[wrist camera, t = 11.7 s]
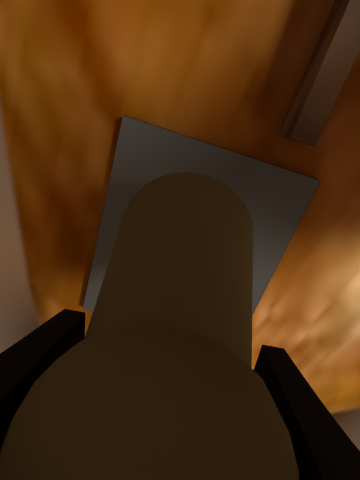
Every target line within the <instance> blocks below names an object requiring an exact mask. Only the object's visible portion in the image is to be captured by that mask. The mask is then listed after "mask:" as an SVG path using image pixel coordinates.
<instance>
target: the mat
mask: <svg viewBox="0 0 360 480" xmlns="http://www.w3.org/2000/svg"><path fill="white" fill-rule="evenodd" d="M182 172H192V173H197V174H202V175H207V176H212V177H213V178H215V179H217V180H219V181H220V182H222V183H224V184H226V185H227V186H229V187H231V188H232V189H233V190H234V191H235V193H236V194H237V195H238V196H239V197H240V198H241V199H242V200H243V202H244V203H245V204H246V206H247V209H248V211H249V214H250V216H251V219H252V221H253V295H252V315H253V313H254V311H255V309H256V307H257V305H258V303H259V301H260V299H261V297H262V295H263V293H264V291H265V289H266V287H267V285H268V283H269V281H270V279H271V277H272V275H273V273H274V271H275V269H276V267H277V265H278V263H279V262H280V260H281V258H282V256H283V254H284V252H285V250H286V248H287V246H288V244H289V242H290V240H291V238H292V236H293V234H294V232H295V230H296V228H297V226H298V224H299V222H300V220H301V218H302V216H303V214H304V212H305V210H306V208H307V206H308V204H309V202H310V200H311V198H312V196H313V194H314V192H315V190H316V188H317V186H318V184H319V182H320V181H319V180H317V179H315V178H312V177H309V176H306V175H303V174H300V173H297V172H294V171H291V170H288V169H285V168H282V167H279V166H276V165H273V164H270V163H267V162H264V161H261V160H258V159H254V158H251V157H248V156H245V155H242V154H239V153H236V152H233V151H230V150H227V149H224V148H221V147H218V146H215V145H212V144H209V143H206V142H203V141H200V140H197V139H194V138H191V137H188V136H185V135H182V134H179V133H176V132H173V131H170V130H167V129H164V128H161V127H158V126H155V125H152V124H149V123H146V122H143V121H140V120H137V119H134V118H131V117H128V116H123V117H122V122H121V127H120V132H119V137H118V141H117V146H116V151H115V156H114V161H113V166H112V170H111V175H110V180H109V185H108V190H107V194H106V199H105V204H104V209H103V214H102V219H101V223H100V228H99V233H98V238H97V243H96V248H95V252H94V257H93V262H92V267H91V272H90V276H89V281H88V286H87V291H86V296H85V301H84V305H83V309H85V310H88V311H91V312H93V311H94V308H95V304H96V301H97V298H98V295H99V292H100V288H101V285H102V282H103V279H104V275H105V272H106V269H107V266H108V263H109V259H110V256H111V253H112V250H113V247H114V243H115V240H116V237H117V234H118V231H119V227H120V224H121V221H122V218H123V215H124V212H125V210H126V208H127V206H128V204H129V202H130V200H131V198H132V197H133V196H134V195H135V194H136V193H137V192H138V191H139V190H140V189H141V188H142V187H143V186H144V185H145V184H146V183H148V182H150V181H153V180H155V179H157V178H159V177H161V176H164V175H166V174H173V173H182Z"/></svg>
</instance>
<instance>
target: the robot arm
mask: <svg viewBox="0 0 360 480" xmlns="http://www.w3.org/2000/svg"><path fill="white" fill-rule="evenodd" d="M84 339H85V313H84V312H79V311H73V310H68V309H64V310H62V311H61V312H60V313H58V314H57V315H55V316H54V317H52V318H51V319H49V320H48V321H47V322H45V323H44V324H42V325H41V326H40V327H38V328H37V329H35V330H34V331H33V332H31V333H30V334H28V335H27V336H26V337H24V338H23V339H21V340H20V341H18V342H17V343H15V344H14V345H12V346H11V347H10V348H8V349H7V350H5V351H4V352H2V353H1V354H0V449H1V446H2V443H3V440H4V437H5V435H6V433H7V430H8V428H9V426H10V424H11V422H12V420H13V417H14V415H15V413H16V412H17V410H18V408H19V407H20V405H21V404H22V402H23V400H24V399H25V397H26V395H27V394H28V392H29V390H30V389H31V387H32V386H33V384H34V382H35V381H36V380H37V379H38V378H39V377H40V376H41V375H42V374H43V373H44V372H45V371H46V370H47V369H48V368H49V367H50V366H51V365H52V364H53V363H54V362H55V361H56V360H57V359H58V358H59V357H60V356H62V355H63V354H64V353H66V352H67V351H68V350H69V349H71V348H72V347H73V346H75V345H76V344H77V343H79V342H80V341H82V340H84ZM254 371H255V372H256V373H257V374H258V375H259V376H260V377H261V378H262V379H263V381H264V383H265V385H266V387H267V389H268V391H269V392H270V394H271V396H272V398H273V400H274V402H275V404H276V406H277V409H278V411H279V413H280V415H281V417H282V419H283V421H284V423H285V425H286V427H287V429H288V431H289V433H290V437H291V441H292V445H293V449H294V454H295V458H296V462H297V466H298V470H299V480H360V451H359V450H358V449H357V447H356V446H355V445H354V444H353V443H352V441H351V440H350V439H349V437H348V436H347V435H346V434H345V432H344V431H343V430H342V428H341V427H340V426H339V425H338V423H337V422H336V421H335V419H334V418H333V417H332V415H331V414H330V413H329V411H328V410H327V409H326V407H325V406H324V405H323V403H322V402H321V400H320V399H319V398H318V396H317V395H316V394H315V392H314V391H313V389H312V388H311V387H310V385H309V384H308V382H307V381H306V380H305V378H304V377H303V375H302V374H301V372H300V371H299V370H298V368H297V367H296V365H295V364H294V362H293V361H292V360H291V358H290V357H289V355H288V354H287V353H286V351H285V350H284V349H283V348H277V347H272V346H266V345H262V347H261V350H260V353H259V356H258V359H257V362H256V365H255V368H254Z"/></svg>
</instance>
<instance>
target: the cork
mask: <svg viewBox="0 0 360 480" xmlns="http://www.w3.org/2000/svg"><path fill="white" fill-rule="evenodd" d="M252 295H253V221H252V219H251V216H250V214H249V211H248V209H247V206H246V204H245V203H244V202H243V200H242V199H241V198H240V197H239V196H238V195H237V194H236V193H235V191H234V190H233V189H232V188H231V187H229V186H227V185H226V184H224V183H222V182H220V181H219V180H217V179H215V178H213V177H212V176H207V175H202V174H197V173H192V172H182V173H173V174H166V175H164V176H161V177H159V178H157V179H155V180H153V181H150V182H148V183H146V184H145V185H144V186H143V187H142V188H141V189H140V190H139V191H138V192H137V193H136V194H135V195H134V196H133V197H132V198H131V200H130V202H129V204H128V206H127V208H126V210H125V212H124V215H123V218H122V221H121V224H120V227H119V231H118V234H117V237H116V240H115V243H114V247H113V250H112V253H111V256H110V259H109V263H108V266H107V269H106V272H105V275H104V279H103V282H102V285H101V288H100V292H99V295H98V298H97V301H96V304H95V308H94V311H93V314H92V317H91V320H90V324H89V327H88V330H87V333H86V336H85V339H84V340H82V341H80V342H79V343H77V344H76V345H75V346H73V347H72V348H71V349H69V350H68V351H67V352H66V353H64V354H63V355H62V356H60V357H59V358H58V359H57V360H56V361H55V362H54V363H53V364H52V365H51V366H50V367H49V368H48V369H47V370H46V371H45V372H44V373H43V374H42V375H41V376H40V377H39V378H38V379H37V380H36V381H35V382H34V384H33V386H32V387H31V389H30V390H29V392H28V394H27V395H26V397H25V399H24V400H23V402H22V404H21V405H20V407H19V408H18V410H17V412H16V413H15V415H14V417H13V420H12V422H11V424H10V426H9V428H8V430H7V433H6V435H5V437H4V440H3V443H2V446H1V449H0V480H299V470H298V466H297V462H296V458H295V454H294V449H293V445H292V441H291V437H290V433H289V431H288V429H287V427H286V425H285V423H284V421H283V419H282V417H281V415H280V413H279V411H278V409H277V406H276V404H275V402H274V400H273V398H272V396H271V394H270V392H269V391H268V389H267V387H266V385H265V383H264V381H263V379H262V378H261V377H260V376H259V375H258V374H257V373H256V372H255V371H254V370H252V369H251V358H252Z"/></svg>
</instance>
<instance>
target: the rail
mask: <svg viewBox="0 0 360 480" xmlns="http://www.w3.org/2000/svg"><path fill="white" fill-rule="evenodd" d="M359 52H360V0H336V1H335V3H334V5H333V8H332V10H331V13H330V15H329V17H328V20H327V22H326V25H325V27H324V29H323V32H322V34H321V36H320V39H319V41H318V44H317V46H316V48H315V51H314V53H313V55H312V58H311V60H310V63H309V65H308V67H307V70H306V72H305V75H304V77H303V79H302V82H301V84H300V86H299V89H298V91H297V94H296V96H295V98H294V101H293V103H292V105H291V108H290V110H289V113H288V115H287V117H286V120H285V122H284V125H283V127H282V129H281V132H280V134H279V135H281V136H283V137H286V138H289V139H292V140H295V141H298V142H301V143H304V144H307V145H310V146H313V147H314V146H315V144H316V142H317V140H318V138H319V136H320V134H321V132H322V130H323V127H324V125H325V123H326V121H327V119H328V117H329V115H330V113H331V111H332V108H333V106H334V104H335V102H336V100H337V98H338V96H339V94H340V92H341V89H342V87H343V85H344V83H345V81H346V79H347V77H348V75H349V73H350V70H351V68H352V66H353V64H354V62H355V60H356V58H357V56H358V54H359Z"/></svg>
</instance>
